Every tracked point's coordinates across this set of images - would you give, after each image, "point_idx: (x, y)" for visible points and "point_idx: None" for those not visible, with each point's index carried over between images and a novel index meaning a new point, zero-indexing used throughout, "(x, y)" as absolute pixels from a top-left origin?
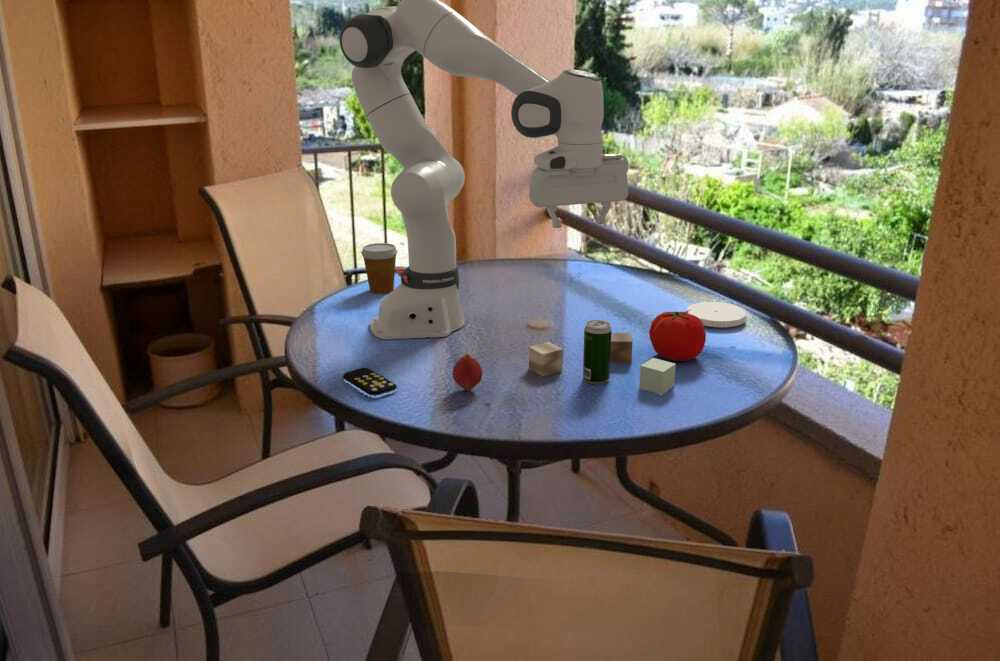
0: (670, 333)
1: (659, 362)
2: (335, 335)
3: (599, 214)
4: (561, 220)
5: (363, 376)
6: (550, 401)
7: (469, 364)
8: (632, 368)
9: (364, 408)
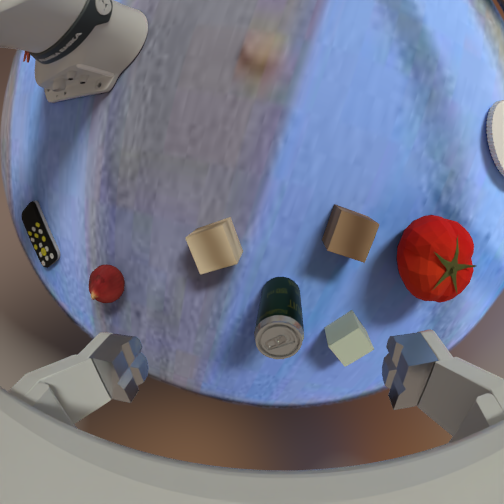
0: (416, 293)
1: (357, 342)
2: (24, 91)
3: (424, 376)
4: (131, 398)
5: (32, 229)
6: (205, 329)
7: (100, 301)
8: (347, 268)
9: (46, 282)
